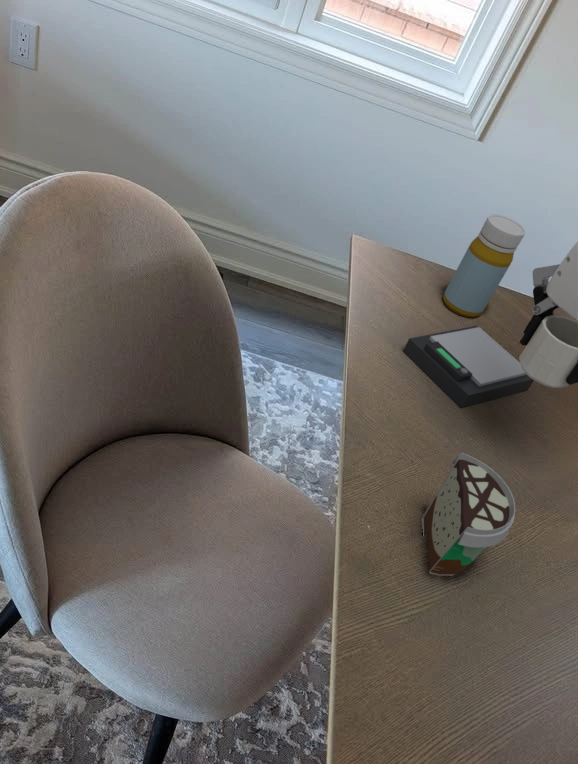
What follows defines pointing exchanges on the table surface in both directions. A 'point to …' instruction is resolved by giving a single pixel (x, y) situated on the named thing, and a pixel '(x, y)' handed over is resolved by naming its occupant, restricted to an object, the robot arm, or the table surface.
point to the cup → (552, 351)
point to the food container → (466, 515)
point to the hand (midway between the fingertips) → (551, 360)
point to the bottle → (483, 266)
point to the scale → (468, 365)
